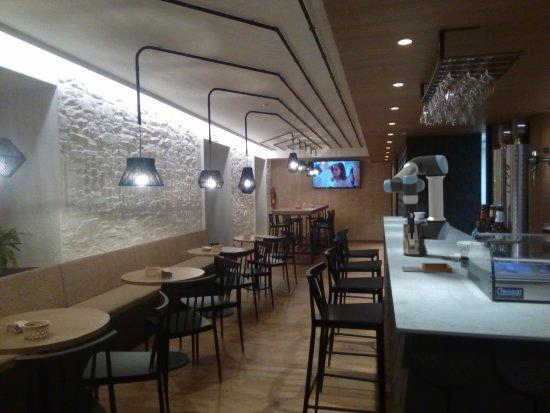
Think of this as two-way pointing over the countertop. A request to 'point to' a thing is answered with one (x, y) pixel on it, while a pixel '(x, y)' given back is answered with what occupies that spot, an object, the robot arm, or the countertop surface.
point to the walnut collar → (436, 268)
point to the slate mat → (411, 269)
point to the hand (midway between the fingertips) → (411, 243)
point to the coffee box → (408, 248)
